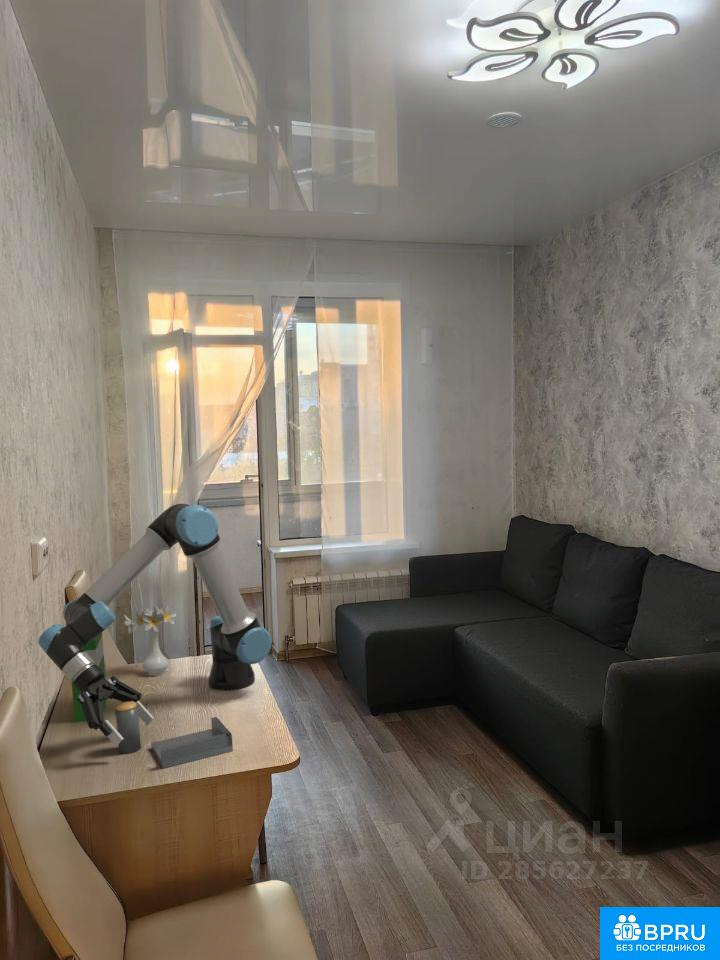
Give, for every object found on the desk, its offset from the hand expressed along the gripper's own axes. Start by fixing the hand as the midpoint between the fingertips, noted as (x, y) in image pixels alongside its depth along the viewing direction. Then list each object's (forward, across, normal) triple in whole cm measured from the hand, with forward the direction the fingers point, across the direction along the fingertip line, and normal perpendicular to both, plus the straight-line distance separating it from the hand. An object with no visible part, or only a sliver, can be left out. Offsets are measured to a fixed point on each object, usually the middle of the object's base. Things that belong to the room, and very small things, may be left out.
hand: (135, 731), depth 194 cm
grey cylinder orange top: (+2, 0, -5) cm, 5 cm away
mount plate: (+14, -3, +7) cm, 16 cm away
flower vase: (-19, -57, -26) cm, 65 cm away
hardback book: (-19, -23, -26) cm, 39 cm away
